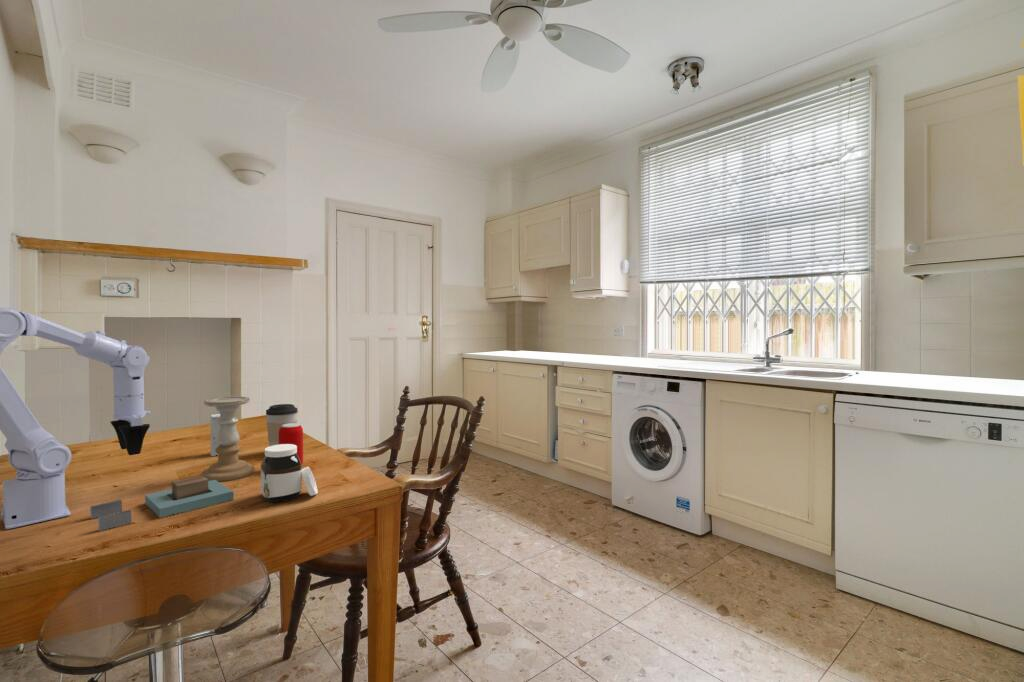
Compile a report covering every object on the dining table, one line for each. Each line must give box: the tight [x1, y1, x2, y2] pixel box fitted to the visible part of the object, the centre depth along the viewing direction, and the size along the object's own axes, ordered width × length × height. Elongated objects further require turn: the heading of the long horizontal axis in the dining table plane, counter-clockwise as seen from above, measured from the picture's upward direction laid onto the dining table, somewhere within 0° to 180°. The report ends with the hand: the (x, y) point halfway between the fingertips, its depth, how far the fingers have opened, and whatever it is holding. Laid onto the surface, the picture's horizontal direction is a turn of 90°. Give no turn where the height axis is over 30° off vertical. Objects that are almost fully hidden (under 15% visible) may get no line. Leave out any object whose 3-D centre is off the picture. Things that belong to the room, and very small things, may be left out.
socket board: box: [144, 480, 234, 519], centre depth 110 cm, size 14×12×2 cm
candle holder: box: [200, 395, 255, 482], centre depth 129 cm, size 12×12×20 cm
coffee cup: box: [265, 403, 299, 447], centre depth 151 cm, size 9×9×15 cm
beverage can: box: [279, 422, 304, 466], centre depth 136 cm, size 6×6×12 cm
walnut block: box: [171, 475, 208, 501], centre depth 110 cm, size 4×6×5 cm, turn 139°
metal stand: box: [89, 499, 132, 532], centre depth 99 cm, size 5×10×2 cm, turn 49°
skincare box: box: [210, 413, 220, 457], centre depth 149 cm, size 6×4×12 cm
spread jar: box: [260, 444, 319, 503], centre depth 114 cm, size 12×11×12 cm
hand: (130, 451), depth 117 cm, fingers open, 7 cm apart
